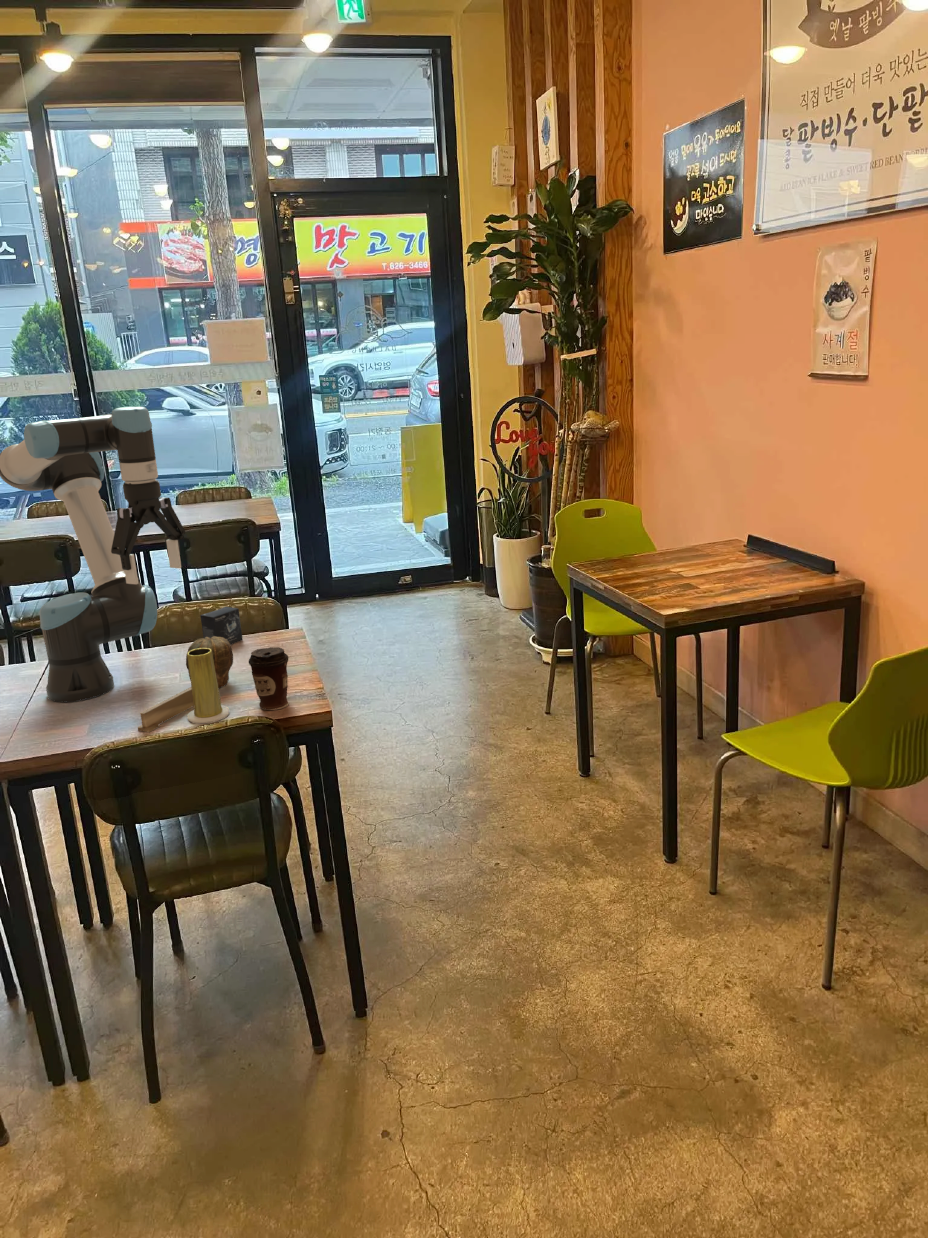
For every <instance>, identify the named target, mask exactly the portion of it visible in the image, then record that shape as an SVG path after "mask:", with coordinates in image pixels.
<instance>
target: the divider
mask: <svg viewBox="0 0 928 1238" xmlns="http://www.w3.org/2000/svg"><path fill="white" fill-rule="evenodd" d="M192 707H194V702H193V695H192V687H191V686H190V687H188V688H186V689H184V690H182V691H179V693H176V694H175V695H173V696H170V697H169V698H166V699H165V700H162V701H161V702H159V703H157V704H155V705H153V706H151V707H148V708H147V709H145V710H143V711H141V712H139V714H140V719H141V725H140V726H137V731H138V732H144V733H150V732H152V731H154V730H156V729H157V728H160V725H161V724H162V723H165V722H167V721H168V720H170V719H172V718H174V717H176V716H179V714H182V713H183V712H184V711H187V710H189V709H191V708H192Z"/></svg>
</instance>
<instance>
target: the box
mask: <svg viewBox="0 0 928 1238" xmlns="http://www.w3.org/2000/svg"><path fill="white" fill-rule="evenodd" d="M199 617H200V623H201V630H202V636H203V637H202V639H204V638H205V637H209V638H212V637H213V636H216V637H223V638H225V639H226V640H228V641H229V643H230V645H231V646H232V645H233V644H237V643H239V642H241V641H243V632H242V625H241V618H240V608H238V607H231V606H224V607H221V608H219V609H216V610H213V611H209V612H206V613H203V614H200V615H199Z"/></svg>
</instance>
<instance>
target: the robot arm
mask: <svg viewBox="0 0 928 1238" xmlns="http://www.w3.org/2000/svg"><path fill="white" fill-rule="evenodd" d="M23 438H24V439H23V440H22V441H21V442H18V444H15V443H14V444H12V445H9V446H7V447H5V448H4V449H3V450H2V451H1V452H0V478H1V480H3V482H5V483H6V484H7V485H9V486H11V487H12V488H14V489H18V490H21V491H27V492H38V491H39V492H40V491H47V490H52V493H53V495H54V498H55V499H57V500H59V501H62V502H63V504H64V507H65V510H66V511H67V514H68V517H69V519H70V522H71V525H72V527H73V530H74V532H75V536H76V538H77V541H78V543H79V546H80V549H81V551H82V554H83V556H84V559H85V561H86V565H87V567H88V570H89V571H90V574H91V575H90V576H92V577H91V578H92V580H93V583H94V586H93V588H92V590H91V596H90V594H89V593H87V592H83V591H82V592H74V593H69V594H68V593H67V594H64V595H60V596H58V597H55V598H53V599H51V600H49V601H47V602H46V603H44V604H43V605H42V606H41V607H40V609H39V622H40V624H39V626H40V629H41V631H42V635H43V640H44V645H45V646H44V647H45V650H46V655H47V660H48V665H49V669H48V674H47V675H48V676H47V684H46V687H45V689H46V690H45V691H46V695H47V699H48V700H49V701H52V702H56V703H71V702H79V701H80V702H81V701H85V700H89V699H93V698H96V697H99V696H102V695H104V694H106V693H109V691H112V689H113V688H114V687H115V682H114V677H113V675H112V673H111V672H110V669H109V667H108V666H107V664H106V662H105V660H104V659H103V658H102V655H101V649H100V645H102V644H106V643H111V642H114V641H119V640H123V639H127V638H130V637H138V636H140V635H142V634H146V633H148V632H151V631H152V630H153V629H154V628H155V627H156V624H157V620H158V605H157V598H156V595H155V593H154V592H155V591H153V589H152V588H151V586H149V585H147V584H143V585H142V584H141V581H140V579H139V577H138V572H137V565H136V559H135V554H134V553H132V550H133V549H134V545H136V544H135V543H136V542H137V538H138V536H139V533H140V531H141V529H143V527H144V525H149V523H155V525H156V526H157V527H158V528H159V529H160V530H161V531H162V532H163V533H164V534H165V535H166V537H168V538H169V539H166V540H165V541H166V548H167V555H168V563H169V568H170V569H171V568H172V569H181V568H182V561H181V556H180V555H181V544H180V543H181V542H180V540H182V539H183V538H184V535H185V534H186V530H185V528H184V526H183V525H182V523H181V521H180V519H179V517H178V515H177V513H176V512H175V510H174V508H173V506H172V501H171V498H170V497H166V496H165V497H163V496H162V492H161V491H162V490H161V485H160V481H159V480H158V478H159V472H158V465H157V464H158V463H157V460H156V459H157V458H156V450H155V443H154V442H155V441H154V434H153V423H152V421H151V416H150V412H149V410H148V409H147V407H145V406H123V407H117V408H114V409H113V410H112V411H111V413H104V414H100V415H96V416H86V417H85V416H84V417H77V418H68V419H67V418H66V419H64V418H63V419H55V420H54V419H53V420H39V421H36V422H35V421H34V422H29V423H27V424H26V425H25V426H24V431H23ZM108 451H117V456H118V462H119V470H120V476H121V480H122V481H123V482H124V483H123V484H122V489H123V495H124V499H125V501H127V503H128V504H127V505H128V506H127V507H125V508H124V507H118V508H117V509H116V517H117V519H116V522H115V523H116V524H115V529H113V527H112V524H111V522H110V519H109V516H108V514H107V511H106V509H105V506H104V504H103V500H102V498H101V495H100V493H99V491H100V489H101V488H102V485H103V484H102V481H104V479H105V468H104V466H103V464H104V462H103V459H102V457H101V455H100V453H101V452H108Z"/></svg>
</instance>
